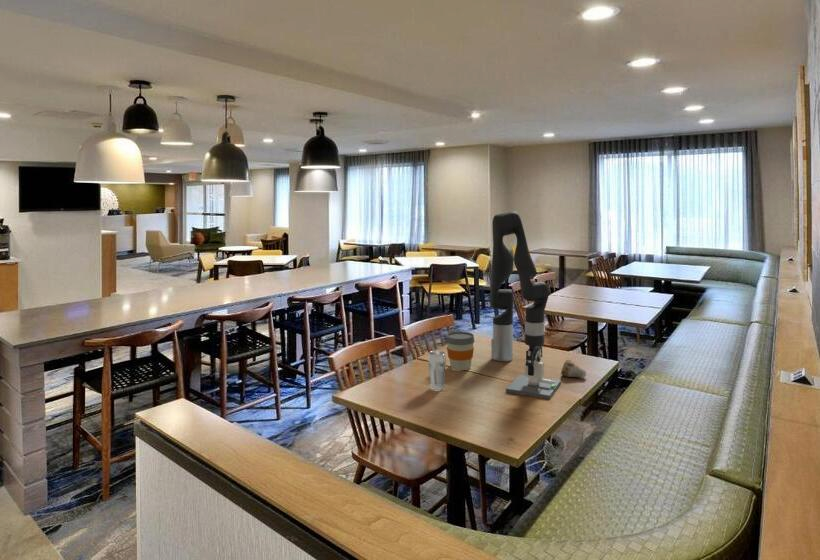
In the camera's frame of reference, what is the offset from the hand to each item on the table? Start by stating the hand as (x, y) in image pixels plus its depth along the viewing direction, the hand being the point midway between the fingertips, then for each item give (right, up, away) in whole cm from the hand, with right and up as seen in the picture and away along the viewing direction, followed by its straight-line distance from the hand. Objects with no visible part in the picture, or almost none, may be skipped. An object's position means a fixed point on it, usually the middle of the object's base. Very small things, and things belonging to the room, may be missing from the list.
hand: (534, 372), depth 205 cm
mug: (+20, -5, +13) cm, 24 cm away
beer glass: (-38, -7, +3) cm, 39 cm away
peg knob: (+2, -5, 0) cm, 5 cm away
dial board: (0, -7, +1) cm, 7 cm away
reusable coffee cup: (-26, -3, +28) cm, 39 cm away
